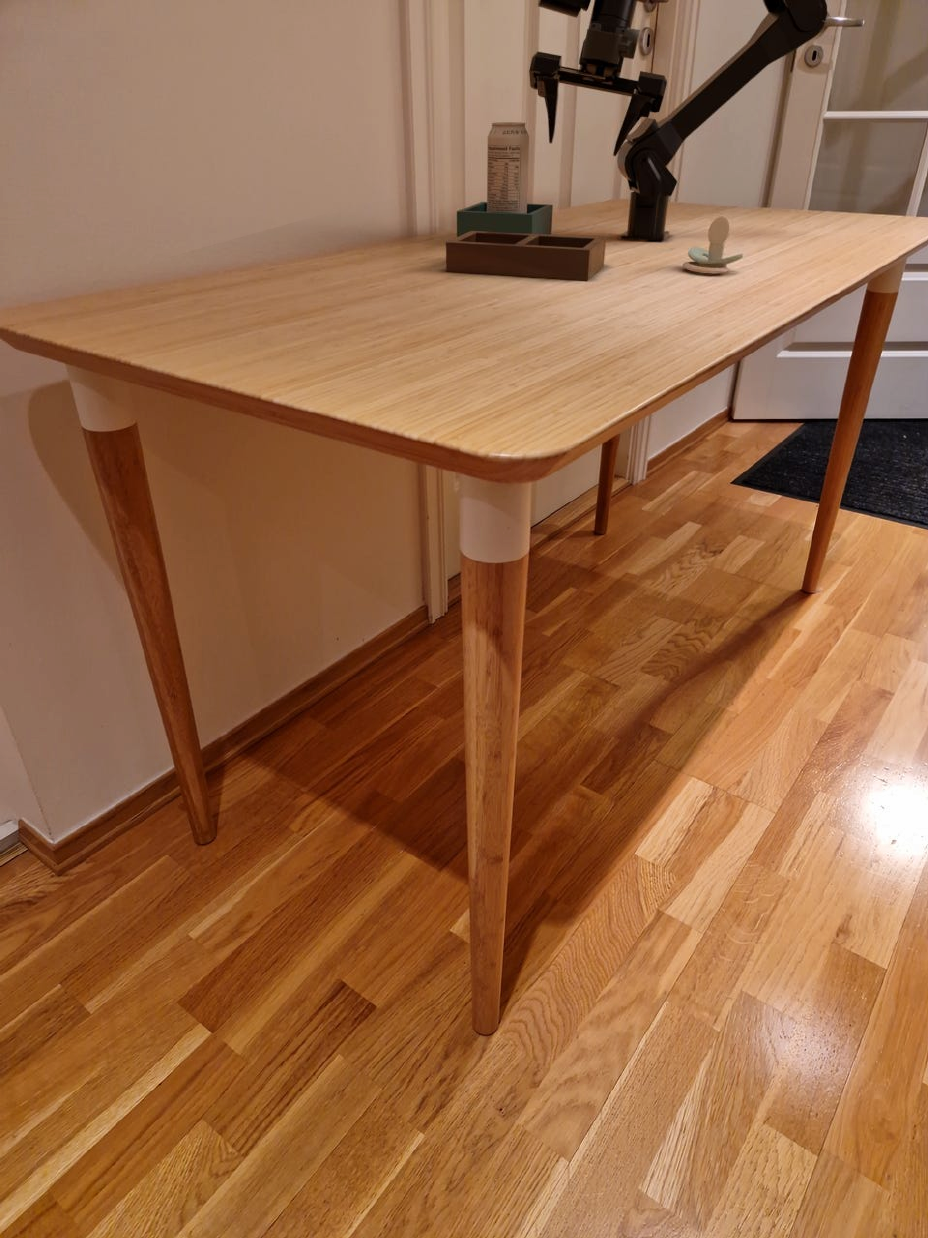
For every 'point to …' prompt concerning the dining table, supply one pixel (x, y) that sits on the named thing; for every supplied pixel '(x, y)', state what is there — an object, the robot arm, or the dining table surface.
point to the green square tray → (505, 220)
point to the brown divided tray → (526, 255)
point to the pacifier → (712, 250)
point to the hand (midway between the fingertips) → (582, 148)
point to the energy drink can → (507, 168)
